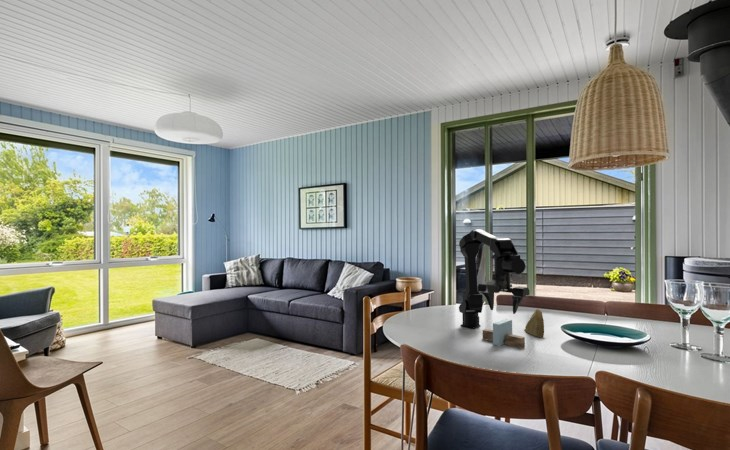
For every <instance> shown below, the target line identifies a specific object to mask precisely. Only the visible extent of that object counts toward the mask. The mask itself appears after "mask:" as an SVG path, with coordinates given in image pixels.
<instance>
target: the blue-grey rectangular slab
mask: <svg viewBox="0 0 730 450" xmlns="http://www.w3.org/2000/svg"><path fill="white" fill-rule="evenodd" d="M492 330H493V341H492V345H494V346H498V347H500V346H502V345H504V344H503V340H505V339H506V335H507V334H513V320H512V319H508V318H505V319H502V320H499V321H494V322H493V323H492Z"/></svg>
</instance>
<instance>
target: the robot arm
mask: <svg viewBox="0 0 730 450" xmlns="http://www.w3.org/2000/svg"><path fill="white" fill-rule="evenodd" d="M458 243H459V245H458V246H459V250H460V253H461V254H462V256H463V257H464V272H465V273H464V275H465V291H464V293H463V295H462V301H461V303H460V304H459V306H458V311H459V313H460V314H461V313H462V316H461V317H462V324H460V327H464V328H470V329H475V328H479V327H481V324H480V316H479V313H481V314H482V312H483V311H482V310H483V307H484V302H483V301H484V300H483V299H484V298H483V297H485V299H486V301H487V303H488V307H489V309H490V310H491V311H493V310H494V305H495V294H498V293H501V292H502V293H509V294H510V293H512V295H513V296H511V299H512V314H513V315H516V313H517V310H518V309H519V306H520V304H521V302H522V301H523V298H526V297H527V296H530V293H531V292H530V289H529V287H527V286H515V287H513V284H512V283H511V277H513V274H516V275H520V274H523V273H524V271H525V270H526V263H525V261H524V260H523V259H522V258H521V255H520V254H519V253H518V251H517V249H516V247H515V245H514V243H513V240H512V239H511V238H508V237H498V236H496V235H494V234H491V233H489V232H487V231H485V230H484V229H481V228H480V229H472V230H471V231H470V232H469V233H466V234H465V235H463V236H462V237H461V239H460V240H459V242H458ZM483 244H484V245H486V246H488V247H489V250H490V251H491V252H492V253H493V255H492V256H491V259H493V261H494V263H493V265H494V266H493V267H494V271H493V272H494V273H493V274H492V277H491V279H489V280H488V281H487V282H483V283H482V282H481V283H479V284H478V275H477V274H478V273H477V256H478V254H479V252H480V247H481V245H483Z"/></svg>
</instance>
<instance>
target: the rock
mask: <svg viewBox="0 0 730 450" xmlns="http://www.w3.org/2000/svg"><path fill="white" fill-rule="evenodd" d="M543 317H544V316H543V312H542V311H541V310H540V309H535V311H534V312H533V313H532V315H531V316H530V318H529V319H528V321H527V323H526V325H525V328H524V331H525V333H528V334H529V335H531V336H535V337H537V338H544V336H545V335H544V334H545V325H544V324H545V323H544V321H545V320H544V318H543Z"/></svg>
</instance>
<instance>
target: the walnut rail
mask: <svg viewBox="0 0 730 450" xmlns="http://www.w3.org/2000/svg"><path fill="white" fill-rule="evenodd" d="M481 331H482V333H481V334H482V340H486V341H490V342H493V329H487V328H483V329H482V330H481ZM525 341H526V338H525V336H522V335H516V334H513V333H512V334H507V335H506V339H505V340H503V345H508V346H512V347H516V348H520V349H522V348H525V346H526V342H525Z"/></svg>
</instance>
